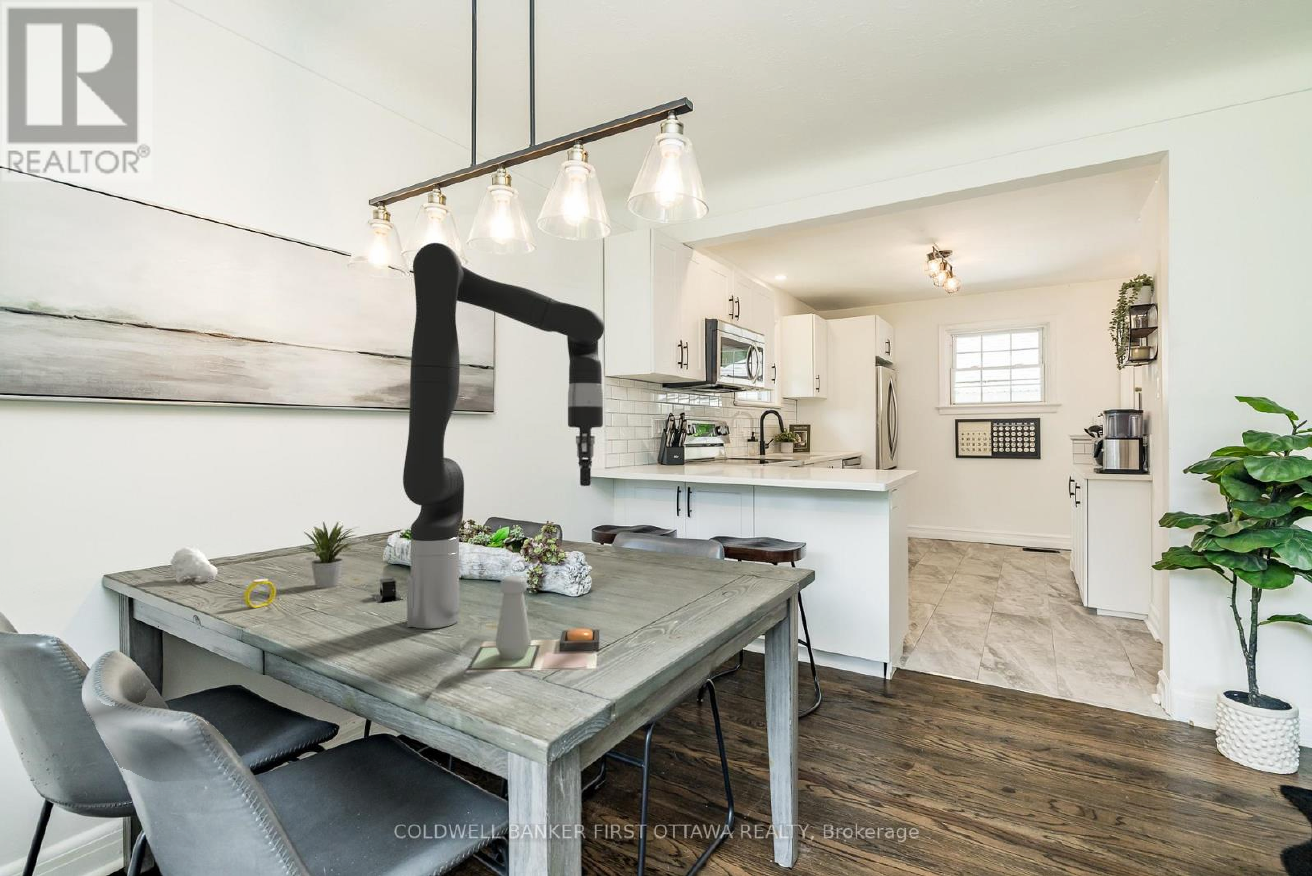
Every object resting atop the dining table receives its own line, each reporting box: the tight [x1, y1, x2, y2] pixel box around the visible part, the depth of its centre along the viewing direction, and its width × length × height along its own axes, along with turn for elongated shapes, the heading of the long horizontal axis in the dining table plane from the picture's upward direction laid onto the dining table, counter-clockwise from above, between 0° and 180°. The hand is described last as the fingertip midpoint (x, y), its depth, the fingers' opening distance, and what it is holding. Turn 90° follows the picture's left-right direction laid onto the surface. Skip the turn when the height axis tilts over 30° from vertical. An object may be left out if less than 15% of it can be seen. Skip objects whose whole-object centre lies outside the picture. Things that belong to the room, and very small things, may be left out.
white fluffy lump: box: [170, 546, 218, 584], centre depth 156 cm, size 6×8×12 cm
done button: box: [567, 628, 593, 641], centre depth 105 cm, size 4×4×2 cm
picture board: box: [465, 629, 600, 674], centre depth 100 cm, size 22×16×3 cm
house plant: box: [298, 521, 362, 589], centre depth 150 cm, size 14×14×16 cm
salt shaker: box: [494, 575, 532, 660], centre depth 99 cm, size 6×6×13 cm
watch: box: [243, 578, 277, 609], centre depth 133 cm, size 6×3×6 cm, turn 153°
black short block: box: [372, 577, 404, 605], centre depth 141 cm, size 12×7×5 cm, turn 32°
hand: (585, 485), depth 130 cm, fingers closed
